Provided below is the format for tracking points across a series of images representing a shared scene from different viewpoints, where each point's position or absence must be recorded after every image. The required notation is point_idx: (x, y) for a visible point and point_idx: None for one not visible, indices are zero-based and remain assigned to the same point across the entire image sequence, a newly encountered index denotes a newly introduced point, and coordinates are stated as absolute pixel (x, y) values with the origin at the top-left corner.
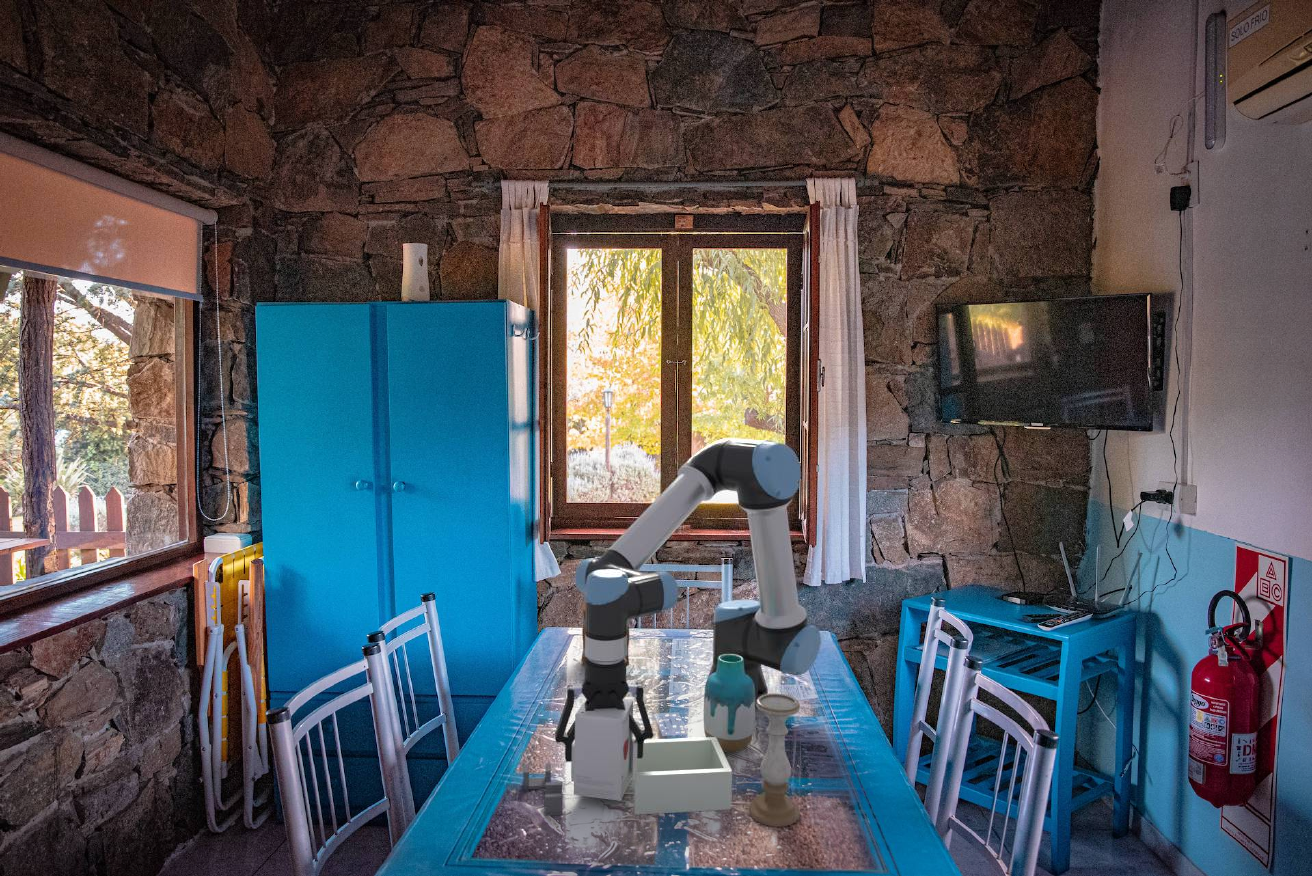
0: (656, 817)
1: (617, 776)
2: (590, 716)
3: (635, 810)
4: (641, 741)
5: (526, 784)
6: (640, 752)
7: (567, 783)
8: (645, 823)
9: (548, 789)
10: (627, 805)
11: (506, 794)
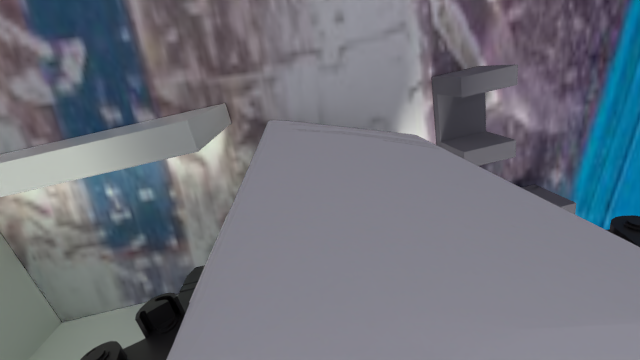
0: (155, 96)
1: (277, 135)
2: None
3: (220, 104)
4: (154, 307)
5: (537, 191)
6: (195, 283)
7: None
8: (181, 58)
9: (496, 139)
10: (255, 149)
11: (574, 158)
